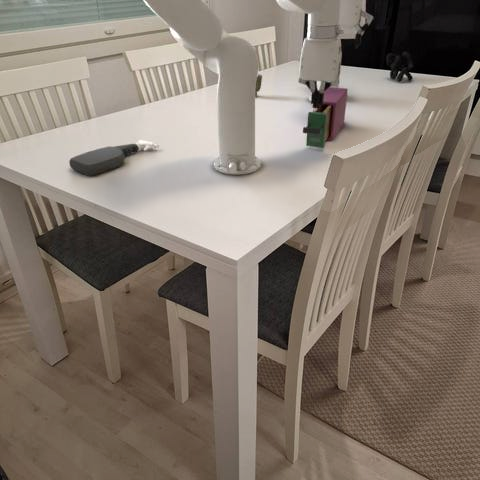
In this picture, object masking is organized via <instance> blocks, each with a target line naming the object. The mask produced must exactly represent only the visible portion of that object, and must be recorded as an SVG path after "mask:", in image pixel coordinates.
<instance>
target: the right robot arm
mask: <svg viewBox="0 0 480 480" xmlns="http://www.w3.org/2000/svg"><path fill="white" fill-rule="evenodd" d="M366 4H367V0H341V1H340V13H339V24H338V25H339V27H340V28H344V33H343V34H340V35H338V36H337V38H340V40H343V39H344V40H350V39H351V40H352V39H354V49H358V48H359V46H361V43H362V36H363V35H364V33H365V31H366V30H367V29H368V28H369V27H370V25H371V23H372V21H373V20H374V16H373V15H371V14H370V13H368V12H367V11H366V9H367V7H366ZM342 54H343V52H342V50H341V58H342V57H343V55H342ZM340 76H341V75H340ZM340 76H339V78H340ZM320 85H321V81H317V89H318V90H319V89H320ZM339 85H340V84H339ZM339 85H338V86H333V88H340V86H339ZM311 97H312V94H310V95H309V96H308V101H309V102H311Z"/></svg>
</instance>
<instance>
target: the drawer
mask: <svg viewBox="0 0 480 480" xmlns="http://www.w3.org/2000/svg"><path fill="white" fill-rule="evenodd" d="M332 114H333V105H329V104H322V105H321V106H320V107H319V108H315V109H314V108H313V110H312V111H309V112H308V113H307V126H303V128H302V133H303V134H306V143H305V146H306V147H313V148H321V149H324V148H325V142H326V141H327V140H326V139H327V138H328V136H329V135H330V134H331V124H332Z"/></svg>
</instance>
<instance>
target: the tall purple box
mask: <svg viewBox="0 0 480 480" xmlns="http://www.w3.org/2000/svg"><path fill="white" fill-rule="evenodd" d="M348 90H349V89H348V88H347V87H338V88H333V87H329V88H328V89H327V90H325V91H324V100H323V104H329V105H333V114H332V124H331V134H330V135H329V136H328V138H327V139H326V141H333V140H334V139H335V138H336V136H337V134H338V133H339V131H340V130H341V129H342V127H343V126H344V124H345V116H346V110H347V109H346V108H347V98H348ZM314 109H315V108H313V110H314Z"/></svg>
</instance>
